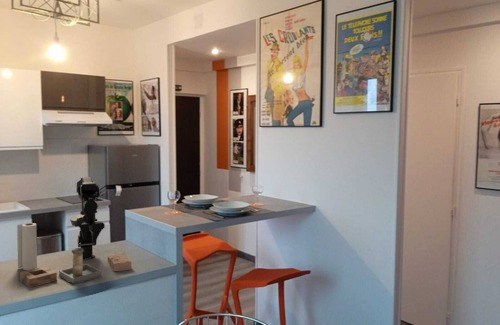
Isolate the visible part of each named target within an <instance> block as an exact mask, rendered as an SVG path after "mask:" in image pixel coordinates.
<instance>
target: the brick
mask: <svg viewBox="0 0 500 325" xmlns="http://www.w3.org/2000/svg"><path fill="white" fill-rule="evenodd" d="M107 263H108V265H109V266H110V267H111V269H112V271H113V272H122V271H131V270H132V260H131V259H130V258H129V257H128V256H127V255H126V254H125V252H117V253H111V254H108V255H107Z"/></svg>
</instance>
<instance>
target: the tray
mask: <svg viewBox="0 0 500 325" xmlns="http://www.w3.org/2000/svg"><path fill="white" fill-rule="evenodd" d="M58 276H59V277H60V278H61V277H62V278H61V279H63V280H65V281H67V282H68V281H69V282H68V283H70V284H72V285H75V284H79V283H83V282H85V281H89V280H93V279H97V278H101V277H102V270H100V269H99V268H96V267H94V266H92V265H89V264H88V263H86V264H83V276H79V277H75V278H73V266H72V267H68V268H65V269H62V270H58ZM82 281H83V282H82Z"/></svg>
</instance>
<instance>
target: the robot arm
mask: <svg viewBox="0 0 500 325" xmlns="http://www.w3.org/2000/svg"><path fill="white" fill-rule="evenodd" d="M75 188H76V193H77V197H78V198H79V200H80V201H81V207H80V208H81V210H80V212H79V213H80V214H78V215H75V216H74V217H71V218H70V219H69V221H70V223H71V226H72V227H73V226H74V227H75V228H76V227H78V228H79V233H78V235H77V248H83V249H84V251H83V260H88V259H91V258H92V257H93V258H95V257H96V255H94V254H93V253H94V252H93V247H95V246H97V240H98V237H99V236H100V234H101V232H102V230H104V229H105V228H106V226H105V225H106V224H105V223H104V222H103V221H98V218H96V214H98V208H99V206H98V203H97V201H96V200H97V199H98V198H99V196H100V193H101V192H100V187H99V185H98V184H97V182H94V181H93V180H92V177H91V176H81V177H80V179H79V180H78V181H77V182H76V187H75ZM96 198H97V199H96Z"/></svg>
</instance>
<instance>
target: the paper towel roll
mask: <svg viewBox="0 0 500 325" xmlns="http://www.w3.org/2000/svg"><path fill="white" fill-rule="evenodd" d="M16 228H17V231H16V233H17V238H16V239H17V269H22V270H23V271H28V270H32V269H37V268H38V260H37V258H38V254H37V253H38V248H37V245H38V244H37V240H38V239H37V223H35V222H34V223H33V222H29V223H21V224H17V226H16Z"/></svg>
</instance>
